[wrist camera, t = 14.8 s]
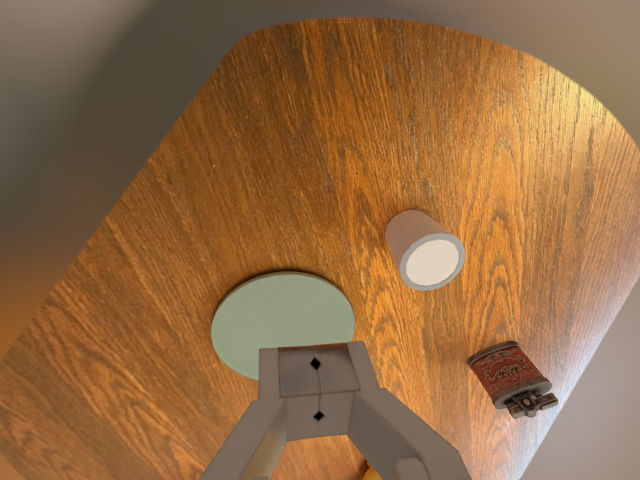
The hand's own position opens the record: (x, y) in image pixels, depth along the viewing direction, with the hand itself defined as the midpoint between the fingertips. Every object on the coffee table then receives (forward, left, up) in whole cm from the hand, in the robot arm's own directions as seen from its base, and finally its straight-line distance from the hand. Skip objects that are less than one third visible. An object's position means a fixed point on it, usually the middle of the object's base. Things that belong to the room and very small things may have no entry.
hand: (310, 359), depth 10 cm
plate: (+24, +1, -27) cm, 36 cm away
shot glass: (+10, +15, -28) cm, 33 cm away
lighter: (+32, +33, -28) cm, 53 cm away
